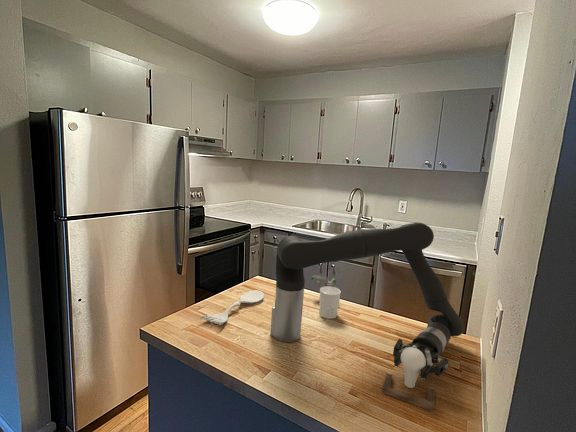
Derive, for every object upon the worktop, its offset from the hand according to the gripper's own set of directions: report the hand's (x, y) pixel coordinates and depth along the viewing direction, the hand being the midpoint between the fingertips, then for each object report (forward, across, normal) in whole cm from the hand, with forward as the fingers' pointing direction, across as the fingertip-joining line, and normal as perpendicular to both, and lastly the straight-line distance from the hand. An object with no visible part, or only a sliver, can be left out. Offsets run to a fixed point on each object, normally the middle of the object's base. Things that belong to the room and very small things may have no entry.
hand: (408, 368), depth 80 cm
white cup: (-20, -38, +7) cm, 43 cm away
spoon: (+4, -64, +7) cm, 64 cm away
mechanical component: (-30, -48, +7) cm, 57 cm away
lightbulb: (-2, 0, +7) cm, 7 cm away
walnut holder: (0, +1, +7) cm, 7 cm away
